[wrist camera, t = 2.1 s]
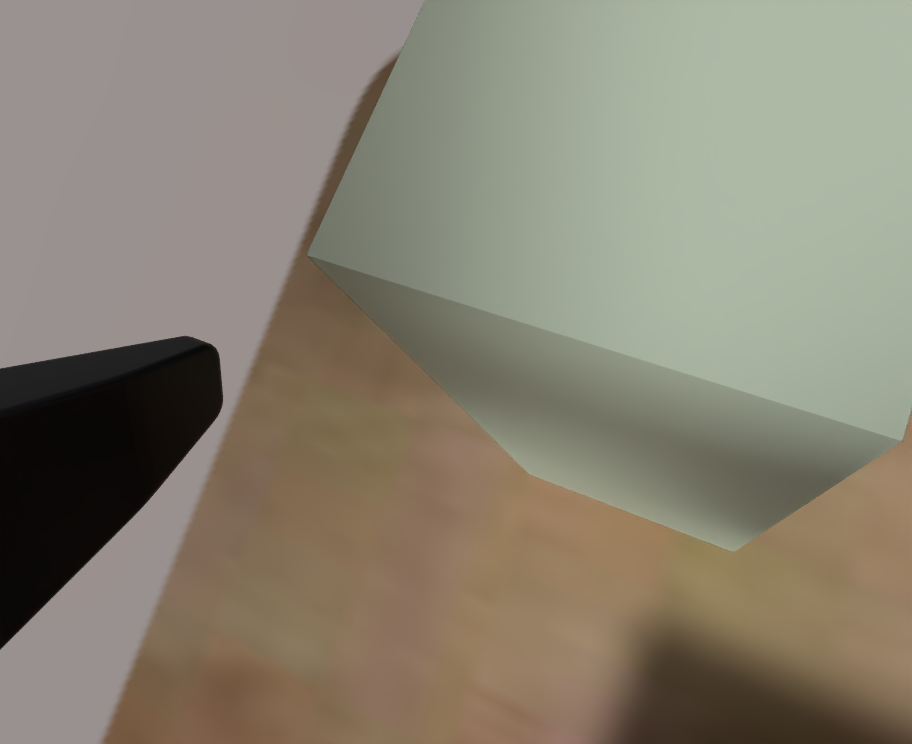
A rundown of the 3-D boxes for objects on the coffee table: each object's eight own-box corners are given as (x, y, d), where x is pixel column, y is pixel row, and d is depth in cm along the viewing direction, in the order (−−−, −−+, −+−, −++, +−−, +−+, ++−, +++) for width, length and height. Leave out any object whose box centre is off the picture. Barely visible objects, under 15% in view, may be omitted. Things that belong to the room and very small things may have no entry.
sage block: (733, 552, 17) (900, 442, 5) (528, 474, 19) (306, 254, 7) (799, 352, 18) (1073, -132, 6) (598, 294, 20) (507, -178, 8)
